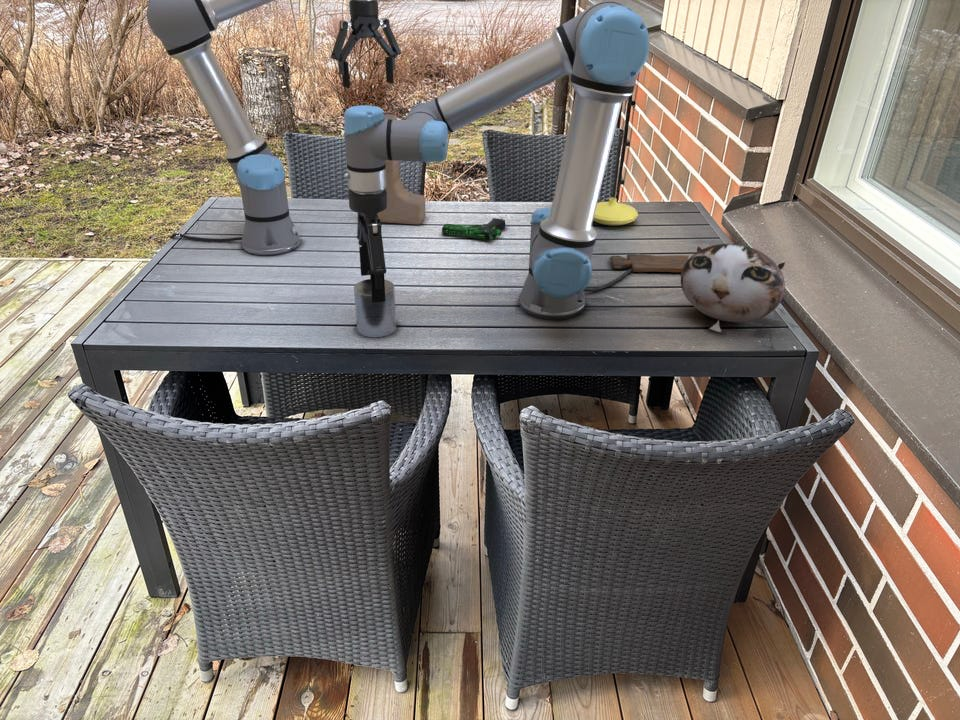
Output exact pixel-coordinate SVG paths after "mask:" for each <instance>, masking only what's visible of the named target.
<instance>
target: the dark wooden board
mask: <svg viewBox="0 0 960 720" xmlns="http://www.w3.org/2000/svg"><path fill="white" fill-rule="evenodd" d="M689 258H690V256H689V255H684V254H683V255H682V254H681V255H679V254H678V255H677V254H676V255H675V254H674V255H673V254H672V255H669V254H668V255H654V254H653V255H652V254H633V253H631V254H627V255H626V257H624V256H621V255H610V257H609V259H610V264H611V267H612V269H613V270H624V269H630V268H631V269H632V268H633V271H632V272H633V273H649V272H652V273H654V272H656V273H657V272H659V273H680V274H681V273H682V269H683V267H684V265H685V263H686V262H687V261H688V259H689Z"/></svg>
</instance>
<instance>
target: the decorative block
mask: <svg viewBox="0 0 960 720" xmlns="http://www.w3.org/2000/svg"><path fill="white" fill-rule="evenodd" d="M384 116H385V119H391V120H398V117H397V116H398V115H396V114H390V113H389V114H387V113H384ZM385 163H386V180H387V187H386V188H385V190H386V191H387V208H386V209H385V210H384V211H382V212H379V213H377V215H378V219H380V222H381V223H387V224H404V225H417V226H418V225H422V223H423V221H424V220H425V218H426V197H425V195H423V194H418V193H414V192H410V191H409V190H407V189H406V188H405V186H404V184H403V182H402V180H401V175H400V161H394V160H393V161H392V160H386V161H385Z"/></svg>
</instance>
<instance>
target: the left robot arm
mask: <svg viewBox="0 0 960 720" xmlns="http://www.w3.org/2000/svg"><path fill="white" fill-rule="evenodd" d="M274 1H275V0H148V3H147V8H146V21H147V23H148V26H149V28H150V30H151V32H152V33H153V34H154V36H156V38H158V39H159V40H160V43H161V44H162V46H163V48H164V49H165V51H166V53H167V54H168V56H169V57H170V58H171V59H174V60H177V61H178V62H179V64H180V65H181V67H182V70H183V71H184V73H185V74H186V76H187V78H188V80H189V82H190V84H191V85H192V87H193V89H194V91H195V93H196V94H197V97H198V98H199V100H200V102H201V104H202V105H203V107H204V109H205V111H206V113H207V114H208V116H209V118H210V120H211V122H212V124H213V125H214V128H215V129H216V130H217V132H218V134H219V136H220V138H221V140H222V142H223V143H224V146H225V147H226V151H225V154H224V157H225V159H226V161H227V162H228V164H229V166H230V168H231V169H232V171H233V173H234V175H235V177H236V178H237V181H238V185H239V190H240V196H241V201H242V208H243V212H244V213H243V215H244V219H245V220H244V226H243V228H244V229H243V235H242V236H236V237H229V238H228V237H227V238H212V237H210V238H209V237H198V236H191V235H186V234H182V233H179V232H178V234H177V233H173V234H171V235H170V236H169V240H172V239H174V238H175V237H177V236H176V235H179V234H180V236H178V237H180V238H183V239H187V240H193V241H201V242H216V243H217V242H222V243H223V242H233V241H234V242H235V241H241V246H242V249H243V251H244V252H246V253H248V254H252V255H255V256H256V255H257V256H275V255H281V254H282V255H283V254H285V253H289V252H291V251H293V250H296V249H297V248H298V247H299V246H300V244H301V241H300V235H299V233H298V231H297V230H298V229H297V226H296V225H295V224H294V223H293V220H292V218H291V216H290V207H289V200H288V192H287V183H286V178H285V177H286V171H285V168H284V164H283V162H282V161H281V159H280V158H278V157H277V156H275V155H274V154H273V152H272V150H271V149H270V147H269V145H268V143H267V141H266V139H265V138H264V137H262V136H260V135H257V134H256V132H255V130H254V128H253V126H252V124H251V122H250V121H249V118H248V116H247V115H246V113H245V110H244V109H243V107H242V105H241V103H240V101H239V99H238V97H237V96H236V93H235V92H234V90H233V87H232V86H231V84H230V82H229V79H228V77H227V76H226V74H225V72H224V71H223V68H222V66H221V64H220V62H219V61H218V58H217V57H216V55H215V53H214V51H213V49H212V47H211V46H212V41H213V36H212V34H211V32H213V31H216V30H218V27H219V24H221V23H222V22H225V21H228V20H230V19H233V18H235V17H237V16H240V15H242V14H245V13H247V12H250V11H252V10H254V9H257V8H259V7H262V6H265V5H266V4H269V3H272V2H274ZM348 6H349V16H350V20H349V21H347V20H342V19H341V20H340V21H339V30H338V33H337V36H336V39H335V42H334V45H333V48H332V51H331V54H330V58H331V59H332V60H335V61H337V62H338V63H337V64H338V73H339V75H341V77H342V79H341V80H342V87H343V88H346V89H350V88H351V81H350V80H351V79H350V66H349V61H347V59H348V58H349V55H350V54H351V52H352V51H353V49H354V47H355V45H356V44H357V42H359V41H360V39H362V40H364V39H367V38H368V39H374V40H375V41H376V43H377V44H378V45H379V47H380V48H381V49H382V50H383V52H384V53H385V54H386V55H387V56H385V59H384V61H385V78H386V83H388V84H394V71H395V70H396V59H397V57H398V56H401V54H402V51H401V48H400V46H399V44H398V42H397V39H396V37H395V35H394V32H393V30H392V29H391V24H390V19H389V18H386V17H385V18H384V17H382V18H381V19H379V1H378V0H349V2H348ZM379 27H380V28H381V29H382V31H383V33H384V35H385V38H386V40H387V41H386V40H385V38H384V37H383V35H382V33H381V32H380V31H379ZM350 28H351V32H350V34H349V35H348V31H349V30H350ZM347 36H349V37H348V39H347ZM346 39H347V41H346Z"/></svg>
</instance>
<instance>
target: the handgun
mask: <svg viewBox="0 0 960 720" xmlns="http://www.w3.org/2000/svg"><path fill="white" fill-rule="evenodd" d="M505 228H506V220H505V219H503V218H497V217H492V219H491V220H490V221H489V222H488V223H483V224H482V225H479V224H472V225H459V224H453V223H445V224H443V226H442V227H441V235H446V236H454V237H462V238H469V239H470V238H471V239H474V240H479V241H484V242H491V241H492V240H494V239H495V238H497V237H500V236H502V230H504V229H505Z"/></svg>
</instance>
